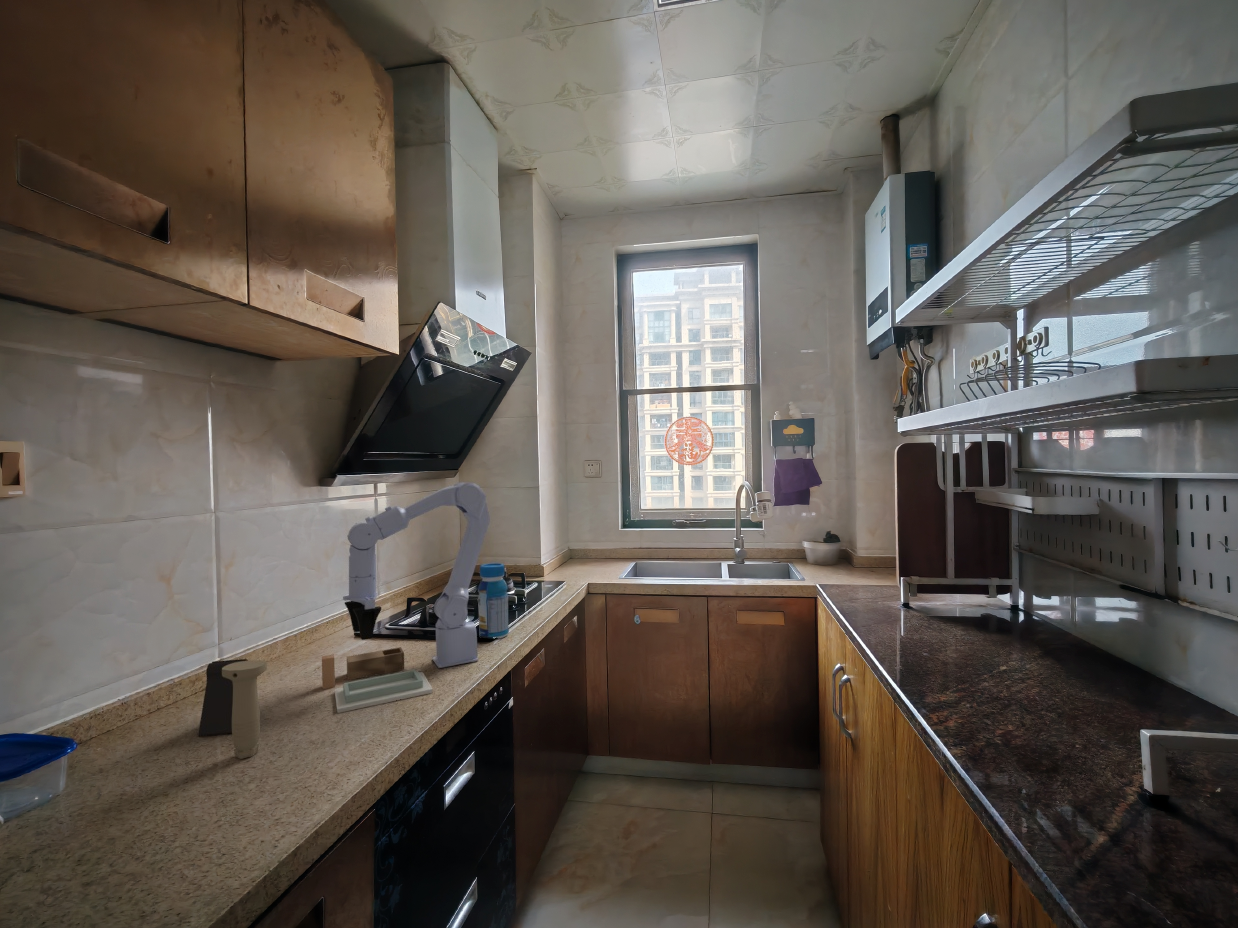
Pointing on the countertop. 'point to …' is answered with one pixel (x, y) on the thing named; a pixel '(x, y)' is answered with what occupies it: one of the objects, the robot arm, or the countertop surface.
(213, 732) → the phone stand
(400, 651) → the tan box sleeve
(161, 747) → the countertop surface
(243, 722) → the handle
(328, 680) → the tan square block
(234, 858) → the countertop surface
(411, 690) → the cradle
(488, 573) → the beverage bottle
